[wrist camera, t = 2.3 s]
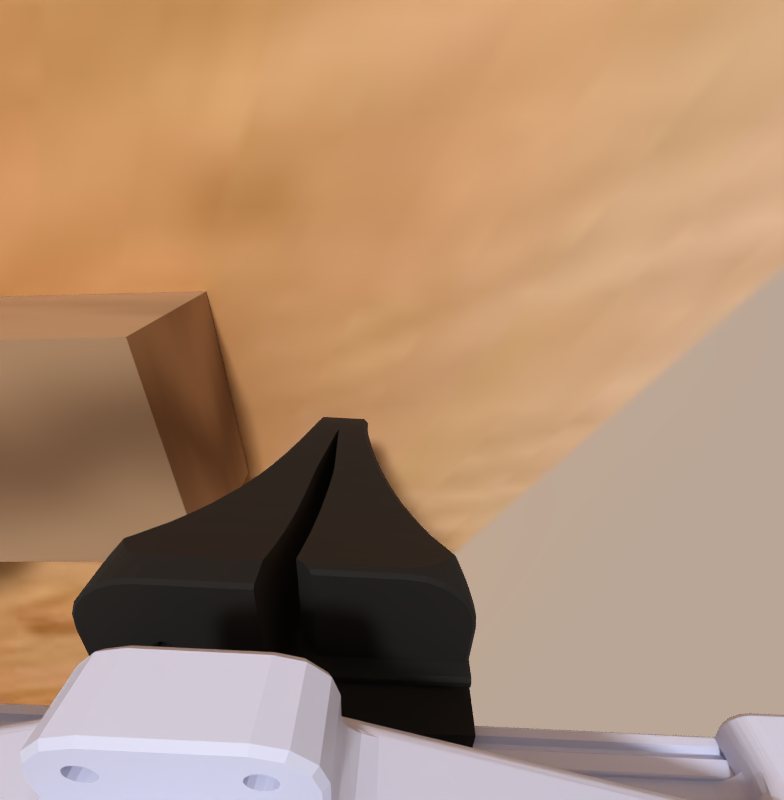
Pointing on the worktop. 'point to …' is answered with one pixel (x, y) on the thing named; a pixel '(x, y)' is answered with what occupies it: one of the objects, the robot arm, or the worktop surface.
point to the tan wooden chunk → (109, 420)
